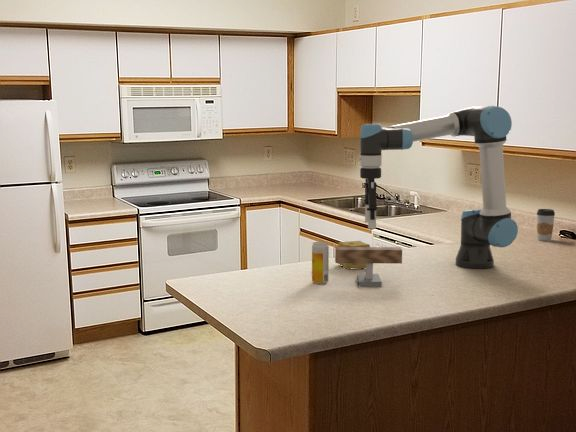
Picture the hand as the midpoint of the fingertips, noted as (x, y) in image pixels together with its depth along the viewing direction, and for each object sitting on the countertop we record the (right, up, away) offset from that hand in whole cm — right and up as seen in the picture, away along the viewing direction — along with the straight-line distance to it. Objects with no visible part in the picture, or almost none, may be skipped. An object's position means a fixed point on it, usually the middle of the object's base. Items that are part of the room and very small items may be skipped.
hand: (370, 225), depth 250 cm
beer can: (-18, -21, +4) cm, 28 cm away
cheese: (-3, -18, +30) cm, 35 cm away
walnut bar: (-1, -13, +2) cm, 14 cm away
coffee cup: (+95, -9, +85) cm, 128 cm away
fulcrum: (0, -21, +3) cm, 22 cm away
